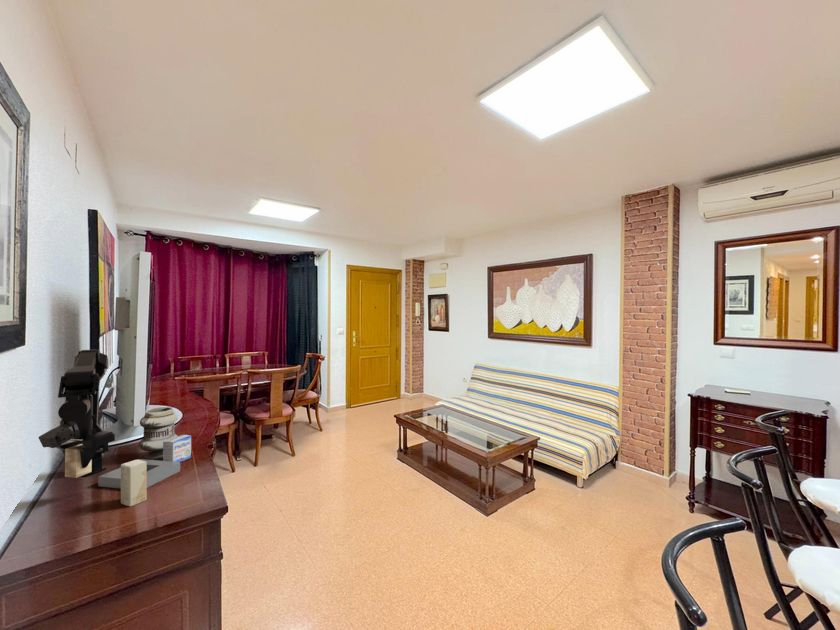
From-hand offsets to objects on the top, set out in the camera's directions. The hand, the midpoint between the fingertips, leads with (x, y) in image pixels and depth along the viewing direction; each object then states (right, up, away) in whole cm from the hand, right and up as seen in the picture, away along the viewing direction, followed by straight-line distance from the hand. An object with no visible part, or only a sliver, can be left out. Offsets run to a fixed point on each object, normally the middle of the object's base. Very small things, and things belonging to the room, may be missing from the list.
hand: (78, 467), depth 103 cm
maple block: (0, -2, 0) cm, 2 cm away
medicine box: (+11, -10, +27) cm, 30 cm away
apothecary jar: (0, -10, +31) cm, 33 cm away
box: (+18, -9, -2) cm, 20 cm away
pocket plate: (+8, -9, +13) cm, 18 cm away
